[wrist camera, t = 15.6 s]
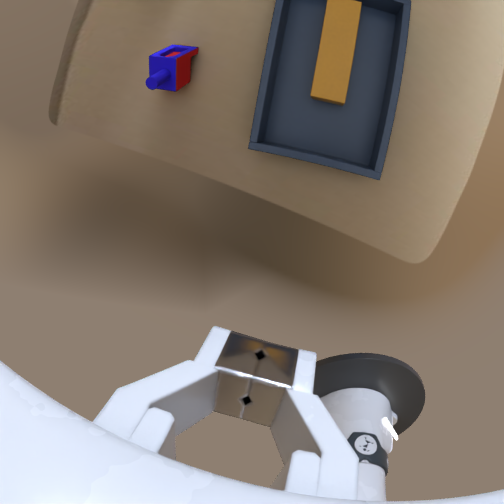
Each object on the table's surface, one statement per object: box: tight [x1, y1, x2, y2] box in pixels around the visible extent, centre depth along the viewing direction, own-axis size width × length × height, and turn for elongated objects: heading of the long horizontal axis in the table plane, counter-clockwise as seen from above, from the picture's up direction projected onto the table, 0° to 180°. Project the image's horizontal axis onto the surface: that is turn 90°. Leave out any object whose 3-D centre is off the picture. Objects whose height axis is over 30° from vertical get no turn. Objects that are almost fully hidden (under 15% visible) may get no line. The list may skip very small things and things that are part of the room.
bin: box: [248, 0, 411, 180], centre depth 27 cm, size 21×14×5 cm, turn 170°
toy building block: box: [146, 45, 198, 92], centre depth 30 cm, size 4×4×8 cm
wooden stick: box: [310, 0, 362, 106], centre depth 26 cm, size 4×4×12 cm
